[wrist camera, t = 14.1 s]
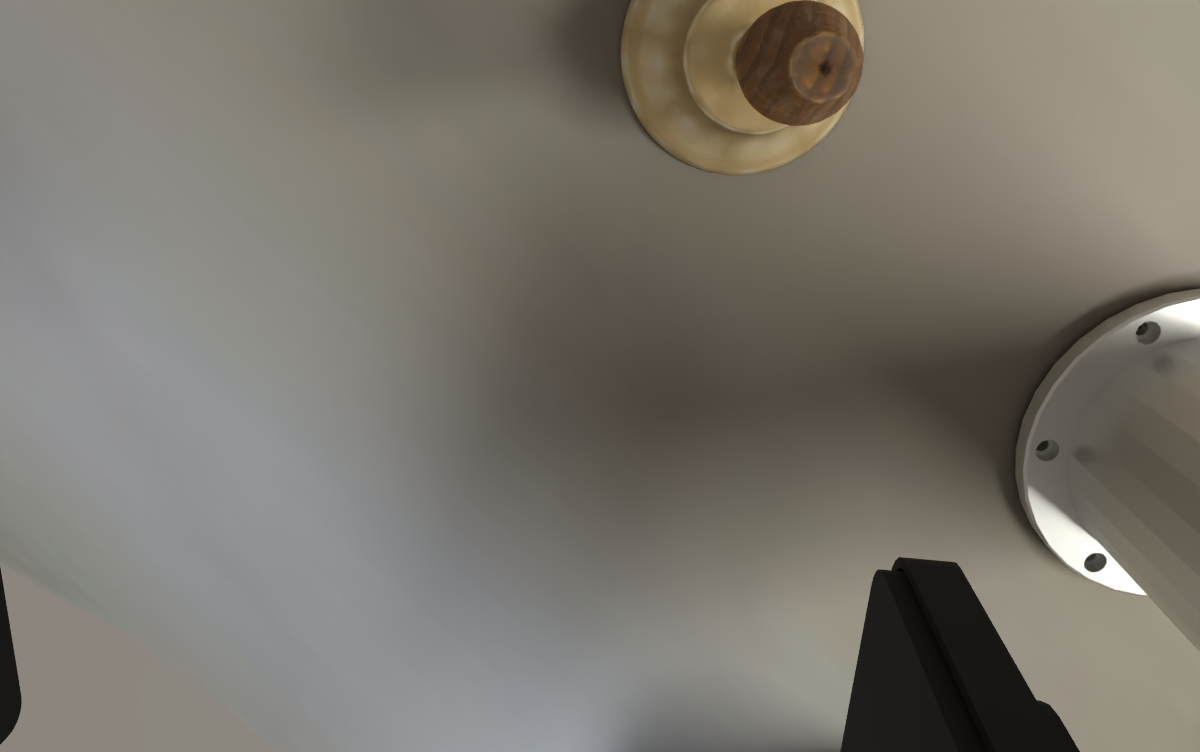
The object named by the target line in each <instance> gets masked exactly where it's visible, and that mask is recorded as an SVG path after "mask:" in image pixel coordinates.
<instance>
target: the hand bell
mask: <svg viewBox="0 0 1200 752" xmlns="http://www.w3.org/2000/svg"><path fill="white" fill-rule="evenodd" d="M620 49H621V65H622V78H623V82H624V86H625V89H626V92H627V94H628V98H629V101H630V103H631V106H632V108H633V110H634V112H635V113H636V115H637V117H638V119H639V120H640V122H641V124H642V125H643V126H644V128H645V129H646V131H647V132H648V133H649V134H650V136H651V137H652V138H653V139H654V140H655V141H656V142H657V143H658V144H659V145H660V146H661V147H662V148H663V149H665V150H666V151H667V152H669V153H670V154H671V155H673V156H674V157H676V158H678V159H679V160H681V161H683V162H685V163H687V164H689V165H691V166H694V167H696V168H699V169H702V170H705V171H709V172H714V173H720V174H727V175H745V174H754V173H759V172H764V171H768V170H772V169H775V168H778V167H780V166H783V165H785V164H787V163H789V162H791V161H793V160H795V159H796V158H798V157H800V156H802V155H803V154H805V153H806V152H807V151H809V150H810V149H811V148H813V147H814V146H815V145H816V144H818V143H819V142H820V141H821V140H822V139H823V138H824V137H825V136H826V135H827V134H828V133H829V132H830V130H831V129H832V128H833V127H834V126H835V125H836V123H837V122H838V120H839V119H840V117H841V116H842V114H843V113H844V111H845V110H846V108H847V106H848V104H849V102H850V100H851V98H852V96H853V94H854V93H855V91H856V89H857V86H858V83H859V81H860V78H861V74H862V68H863V55H864V26H863V20H862V14H861V9H860V4H859V1H858V0H631V2H630V4H629V7H628V10H627V13H626V17H625V21H624V26H623V31H622V38H621V48H620Z"/></svg>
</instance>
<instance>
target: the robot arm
mask: <svg viewBox="0 0 1200 752" xmlns="http://www.w3.org/2000/svg"><path fill="white" fill-rule="evenodd" d="M1140 325H1142V326H1141V328H1140V329H1139V330H1138V331H1137V329H1138V327H1139V326H1140ZM1042 442H1043V443H1042ZM1040 443H1042V444H1041V445H1040V446H1038V445H1039V444H1040ZM1015 477H1016V482H1017V487H1018V492H1019V497H1020V502H1021V504H1022V506H1023V508H1024V511H1025V513H1026V515H1027V517H1028V520H1029V522H1030V524H1031V526H1032V527H1033V528H1034V530H1035V531H1036V532H1037V534H1038V535H1039V536H1040V538H1041V539H1042V540H1043V542H1044V543H1045V545H1046V546H1047V547H1048V548H1049V549H1050V550H1051V551H1052V552H1053V553H1054V554H1055V555H1056V556H1057V557H1058V558H1059V559H1060V560H1061V562H1062V563H1063V564H1064V565H1066V566H1067V567H1069V568H1070V569H1071V570H1073V571H1074V572H1076V573H1077V574H1078V575H1080V576H1081V577H1083V578H1085V579H1087V580H1089V581H1092V582H1094V583H1097V584H1099V585H1101V586H1104V587H1106V588H1109V589H1111V590H1115V591H1120V592H1125V593H1130V594H1134V595H1139V596H1149V598H1150V599H1151V600H1152V601H1153V602H1154V603H1155V604H1156V605H1157V606H1158V607H1159V608H1160V609H1161V611H1162V612H1163V613H1164V614H1165V615H1166V616H1167V617H1168V618H1169V619H1170V620H1171V621H1172V622H1173V624H1174V625H1175V626H1176V627H1177V628H1178V629H1179V630H1180V631H1181V632H1182V633H1183V634H1184V635H1185V636H1186V638H1187V639H1188V640H1189V641H1190V642H1191V643H1192V644H1193V645H1194V646H1195V647H1196V648H1197V649H1198V651H1199V652H1200V289H1193V290H1187V291H1180V292H1173V293H1169V294H1165V295H1162V296H1159V297H1156V298H1153V299H1150V300H1147V301H1144V302H1141V303H1138V304H1136V305H1134V306H1132V307H1130V308H1128V309H1126V310H1124V311H1122V312H1120V313H1118V314H1116V315H1114V316H1112V317H1110V318H1108V319H1106V320H1105V321H1104V322H1102V323H1101V324H1099V325H1098V326H1097V327H1095V328H1094V329H1093V330H1091V331H1090V332H1089V333H1087V334H1086V335H1085V336H1083V337H1082V338H1080V339H1079V340H1078V341H1077V342H1076V343H1075V344H1074V345H1073V346H1072V347H1071V348H1070V349H1069V350H1068V351H1067V352H1066V353H1065V354H1064V355H1063V356H1062V357H1061V358H1060V359H1059V360H1058V361H1057V362H1056V363H1055V364H1054V365H1053V367H1052V368H1051V370H1050V371H1049V373H1048V374H1047V376H1046V377H1045V378H1044V380H1043V381H1042V383H1041V384H1040V386H1039V387H1038V389H1037V390H1036V392H1035V394H1034V396H1033V398H1032V400H1031V402H1030V405H1029V407H1028V409H1027V411H1026V413H1025V416H1024V418H1023V421H1022V425H1021V429H1020V433H1019V437H1018V441H1017V446H1016V466H1015ZM20 709H21V692H20V686H19V680H18V674H17V667H16V661H15V655H14V649H13V642H12V636H11V630H10V624H9V618H8V612H7V606H6V600H5V593H4V587H3V581H2V575H1V569H0V744H1V743H2V742H3V741H4V740H5V739H6V738H7V737H8V735H9V734H10V733H11V732H12V730H13V729H14V727H15V725H16V723H17V720H18V718H19V714H20ZM841 752H1080V751H1079V749H1078V748H1077V746H1076V744H1075V743H1074V741H1073V739H1072V738H1071V736H1070V734H1069V733H1068V731H1067V729H1066V728H1065V726H1064V724H1063V722H1062V721H1061V719H1060V717H1059V716H1058V715H1057V713H1056V712H1055V711H1054V710H1053V708H1052V707H1051V706H1050V705H1049V704H1046V703H1044V702H1042V701H1038V700H1036V699H1035V697H1034V695H1033V694H1032V692H1031V690H1030V688H1029V687H1028V685H1027V683H1026V681H1025V680H1024V678H1023V676H1022V675H1021V673H1020V671H1019V669H1018V668H1017V666H1016V664H1015V662H1014V661H1013V659H1012V657H1011V655H1010V654H1009V652H1008V650H1007V648H1006V647H1005V645H1004V643H1003V641H1002V640H1001V638H1000V636H999V634H998V633H997V631H996V629H995V627H994V626H993V624H992V622H991V620H990V619H989V617H988V615H987V613H986V612H985V610H984V608H983V606H982V605H981V603H980V601H979V599H978V598H977V596H976V594H975V592H974V591H973V589H972V587H971V585H970V584H969V582H968V580H967V578H966V577H965V575H964V573H963V571H962V570H961V568H960V567H959V566H958V564H957V563H954V562H946V561H935V560H924V559H913V558H902V557H899V558H898V559H897V560H896V561H895V563H894V565H893V567H892V571H889V570H877V571H876V573H875V575H874V577H873V581H872V585H871V591H870V596H869V602H868V607H867V612H866V618H865V623H864V628H863V634H862V639H861V644H860V650H859V655H858V661H857V666H856V671H855V677H854V682H853V687H852V693H851V698H850V703H849V709H848V714H847V720H846V725H845V730H844V736H843V741H842V746H841Z"/></svg>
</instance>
